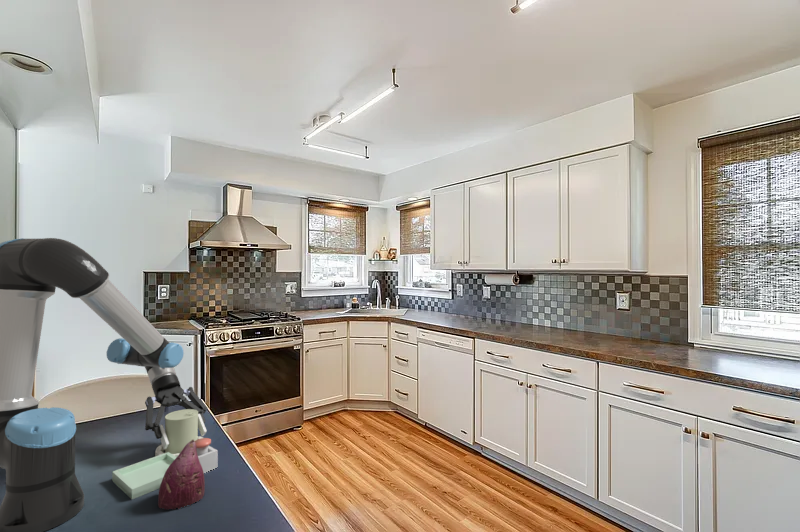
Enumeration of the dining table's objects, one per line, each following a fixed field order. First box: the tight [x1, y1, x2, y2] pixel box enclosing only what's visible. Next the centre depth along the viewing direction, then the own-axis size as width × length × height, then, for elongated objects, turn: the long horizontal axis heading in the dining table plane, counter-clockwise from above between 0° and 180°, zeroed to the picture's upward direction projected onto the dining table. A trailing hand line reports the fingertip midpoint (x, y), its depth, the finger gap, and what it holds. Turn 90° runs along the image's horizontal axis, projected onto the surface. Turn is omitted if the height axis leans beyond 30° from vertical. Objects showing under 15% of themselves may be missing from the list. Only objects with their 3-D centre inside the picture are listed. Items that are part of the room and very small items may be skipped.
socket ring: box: [154, 435, 204, 457], centre depth 121 cm, size 14×14×2 cm
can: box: [164, 408, 199, 454], centre depth 121 cm, size 9×9×12 cm
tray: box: [111, 452, 177, 500], centre depth 105 cm, size 14×14×2 cm
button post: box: [198, 445, 219, 474], centre depth 110 cm, size 6×6×5 cm
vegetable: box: [157, 439, 206, 510], centre depth 98 cm, size 10×10×15 cm
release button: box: [194, 437, 212, 456], centre depth 110 cm, size 5×5×6 cm
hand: (186, 439), depth 119 cm, fingers open, 10 cm apart
